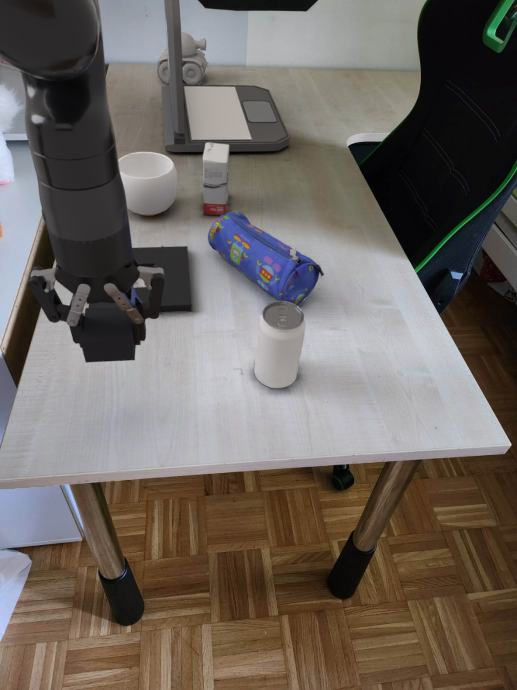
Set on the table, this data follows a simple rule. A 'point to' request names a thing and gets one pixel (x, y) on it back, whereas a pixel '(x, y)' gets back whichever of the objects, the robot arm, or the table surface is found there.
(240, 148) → the gray camera stand
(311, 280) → the pencil case
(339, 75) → the table surface
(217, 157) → the ink box
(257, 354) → the can
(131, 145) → the table surface
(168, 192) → the cup
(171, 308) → the socket pad
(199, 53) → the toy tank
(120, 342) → the plug pad
